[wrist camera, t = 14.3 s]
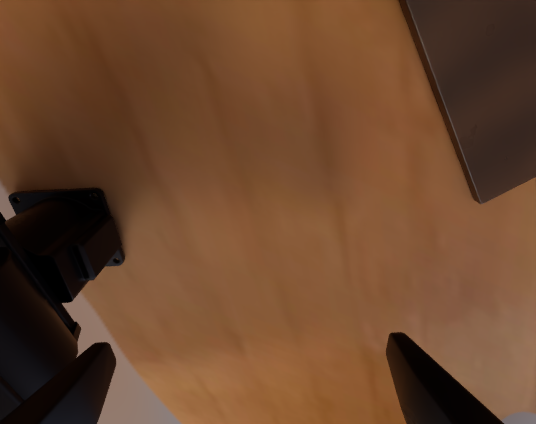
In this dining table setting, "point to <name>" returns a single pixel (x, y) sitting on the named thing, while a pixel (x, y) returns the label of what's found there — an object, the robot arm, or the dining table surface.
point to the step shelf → (482, 84)
